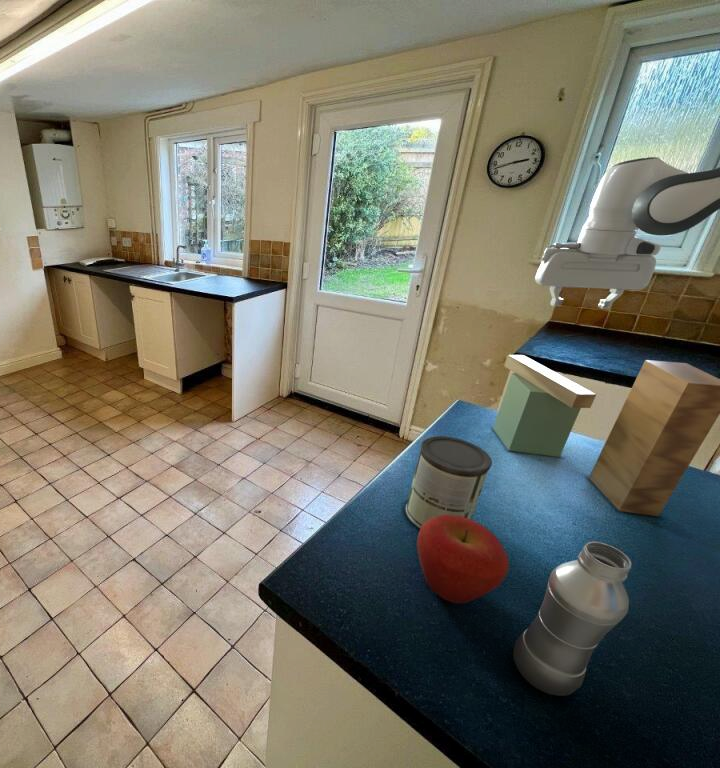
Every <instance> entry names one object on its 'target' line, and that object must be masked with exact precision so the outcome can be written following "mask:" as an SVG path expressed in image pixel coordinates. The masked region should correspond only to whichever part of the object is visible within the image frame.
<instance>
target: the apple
mask: <svg viewBox="0 0 720 768" xmlns="http://www.w3.org/2000/svg"><path fill="white" fill-rule="evenodd" d="M417 535H418V536H417V541H416V548H417V554H418V555H417V556H418V561H419V563H420V566H421V570H422V573H423V577H424V579H425V582H426V584H427V586H428V587H429V588H430V589H431V590H432V591H433V593H435V594H436V595H437V596H439V597H440V598H441V599H443V600H444V601H447V602H449V603H452V604H466V603H468V602H471V601H473V600H475V599H479V598H480V597H483V596H486V594H488V593H490V592H492V591H493V590H495V589H496V588H497V587H500V585H501V584H502V582H503V581H504V580H505V579H506V577H507V574H508V572H509V568H510V562H509V557H508V553H507V552H506V551H505V549H504V547H503V545H502V543H501V542H500V540H499V539H498V537H497V536H496V535H494V533H493V532H491V530H489V529H488V528H487V527H486V526H484V525H482V524H481V523H478V522H477V521H476V520H475V521H474V520H473V519H471V520H470V519H467V518H464V517H462V516H456V515H441V516H438V517H434V518H431V519H429V520H428V521H426V522H425V523H424V524H423V525H422V526H421V529H420V528H419V532H418V534H417Z"/></svg>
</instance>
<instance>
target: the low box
mask: <svg viewBox="0 0 720 768" xmlns="http://www.w3.org/2000/svg"><path fill="white" fill-rule="evenodd" d="M503 394H504V395H503V397H502V400H501V403H500V406H499V409H498V412H497V415H496V418H495V421H494V424H493V427H492V429H493V430H494V432H495V434H496V435H497V436H498V438H499V439H500V440H501V442H502V443H503V446H504V447H506V449H507V450H508V451H509V452H515V453H516V452H517V453H523V454H532V455H539V456H541V455H542V456H549V457H556V458H560V457H561V455H562V453H563V450H564V448H565V446H566V444H567V442H568V439H569V437H570V434H571V432H572V430H573V427H574V425H575V423H576V421H577V418H578V416H579V414H580V411H581V409H582V408H571V407H570V406H568V405H566V404H565V403H563V402H562V401H560V400H558V399H557V398H555V397H553V396H552V395H550V394H549V393H547V392H545V391H544V390H542V389H540V388H539V387H537V386H535V385H534V384H532V383H531V382H529V381H527V380H526V379H524V378H522V377H521V376H519V375H518V374H516V373H514V372H512V373H510V377H509V379H508V382H507V386H506V389H505V392H504V393H503Z"/></svg>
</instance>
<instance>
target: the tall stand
mask: <svg viewBox="0 0 720 768" xmlns="http://www.w3.org/2000/svg"><path fill="white" fill-rule="evenodd" d="M719 417H720V378H718V377H716V376H714V375H712V374H710V373H708V372H705V371H704V370H701V369H700V368H697V367H695V366H693V365H691V364H689V363H686V362H677V361H675V362H674V361H664V360H663V361H661V360H649V359H645V360H644V362H643V364H642V366H641V368H640V370H639V372H638V374H637V376H636V378H635V380H634V383H633V385H632V386H631V389H630V391H629V393H628V395H627V397H626V399H625V401H624V403H623V406H622V408H621V410H620V411H619V414H618V416H617V418H616V420H615V422H614V424H613V426H612V428H611V430H610V432H609V434H608V437H607V439H606V440H605V443H604V444H603V447H602V449H601V451H600V452H599V454H598V457H597V459H596V461H595V463H594V466H593V468H592V470H591V472H590V473H589V475H588V479H589V480H590V481H591V482H592V483H593V485H595V486H596V488H597V489H598V490H599V491H600V492H601V493H602V494H603V495H604V496H605V498H606V499H607V500H608V501H609V502H610V503H611V504H612V505H613V506H614V507H615V508H616V509H617V510H618V512H625V513H631V514H637V515H644V516H653V517H659V516H660V514H661V512H662V511H663V510H664V508H665V506H666V504H667V503H668V501H669V499H670V498H671V496H672V494H673V492H674V491H675V489H676V488H677V486H678V485H679V483H680V481H681V479H682V478H683V476H684V474H685V473H686V471H687V469H688V468H689V466H690V464H691V463H692V461H693V459H694V458H695V456H696V454H697V453H698V451H699V449H700V448H701V446H702V444H703V443H704V441H705V439H706V438H707V436H708V434H709V433H710V431H711V430H712V427H713V426H714V424H715V423H716V422H717V419H718V418H719Z"/></svg>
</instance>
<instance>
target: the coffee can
mask: <svg viewBox="0 0 720 768" xmlns="http://www.w3.org/2000/svg"><path fill="white" fill-rule="evenodd" d="M419 450H420V451H419V455H418V459H417V463H416V466H415V471H414V475H413V478H412V482H411V487H410V491H409V495H408V499H407V503H406V505H405V514H406V516H407V518H408V519H409V521H411V523H412V524H414V526H416V527H417V528H418V529H419V530H420V529H421V526H422V525H423V524H424V523H425V522H426V521H428V520H429V519H431V518H434V517H438V516H441V515H456V516H462V517H464V518H467V519H470V520H473V515H474V513H475V510H476V507H477V505H478V501H479V498H480V496H481V492H482V489H483V487H484V484H485V482H486V478H487V476H488V473H489V470H490V469H491V467H492V464H493V460H492V458H491V456H490V455H489V454H488V453H487V452H486V451H485V450H484V449H482V448H481V447H480V446H478V445H476V444H474V443H472V442H470V441H467V440H464V439H461V438H456V437H452V436H445V435H436V436H435V435H434V436H431V437H430V436H429V437H427V438H425V439H424V440H422V441H421V444H420V449H419Z"/></svg>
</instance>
